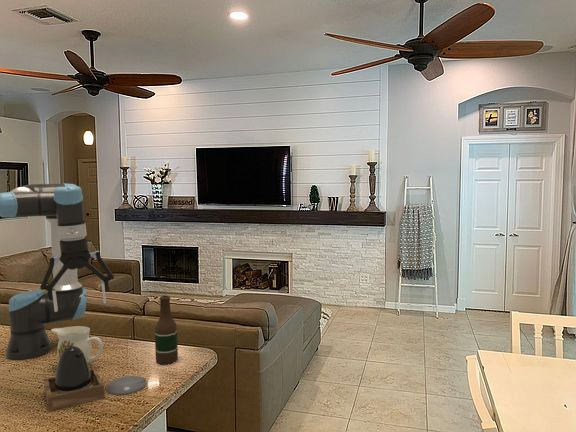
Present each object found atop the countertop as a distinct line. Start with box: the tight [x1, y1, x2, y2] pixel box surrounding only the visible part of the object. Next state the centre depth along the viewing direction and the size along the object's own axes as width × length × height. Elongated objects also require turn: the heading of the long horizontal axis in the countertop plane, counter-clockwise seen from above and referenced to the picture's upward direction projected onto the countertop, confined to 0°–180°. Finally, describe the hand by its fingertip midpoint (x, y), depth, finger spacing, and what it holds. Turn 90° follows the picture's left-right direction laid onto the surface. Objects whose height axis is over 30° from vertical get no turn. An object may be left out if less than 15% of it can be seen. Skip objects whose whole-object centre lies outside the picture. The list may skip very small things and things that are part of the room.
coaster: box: [106, 375, 147, 396], centre depth 146 cm, size 12×12×1 cm
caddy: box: [43, 367, 105, 412], centre depth 140 cm, size 15×15×4 cm
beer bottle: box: [154, 295, 179, 366], centre depth 165 cm, size 8×8×24 cm
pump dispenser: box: [54, 346, 92, 395], centre depth 140 cm, size 10×10×15 cm
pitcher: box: [50, 325, 104, 363], centre depth 161 cm, size 11×18×14 cm, turn 88°
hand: (81, 306), depth 139 cm, fingers open, 13 cm apart
